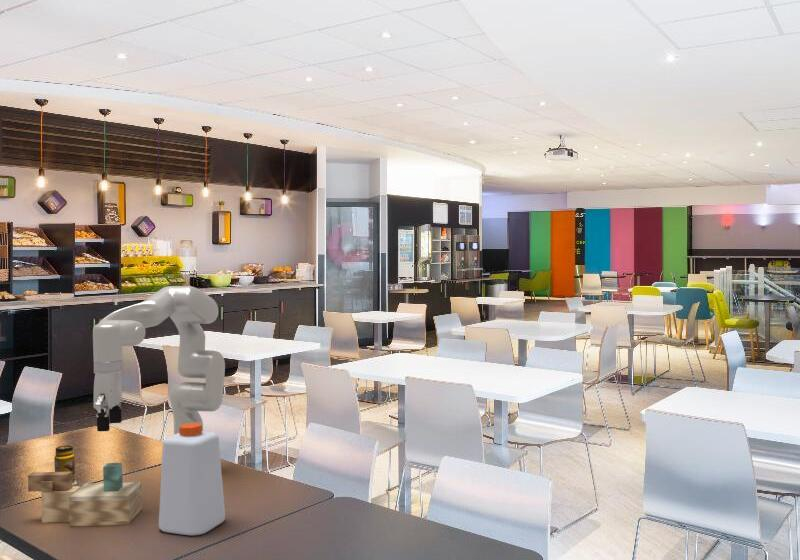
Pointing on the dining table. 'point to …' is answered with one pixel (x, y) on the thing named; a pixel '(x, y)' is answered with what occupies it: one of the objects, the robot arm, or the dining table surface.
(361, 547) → the dining table surface
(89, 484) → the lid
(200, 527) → the plastic bottle
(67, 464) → the condiment
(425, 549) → the dining table surface
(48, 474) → the brown wooden bar
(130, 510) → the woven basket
